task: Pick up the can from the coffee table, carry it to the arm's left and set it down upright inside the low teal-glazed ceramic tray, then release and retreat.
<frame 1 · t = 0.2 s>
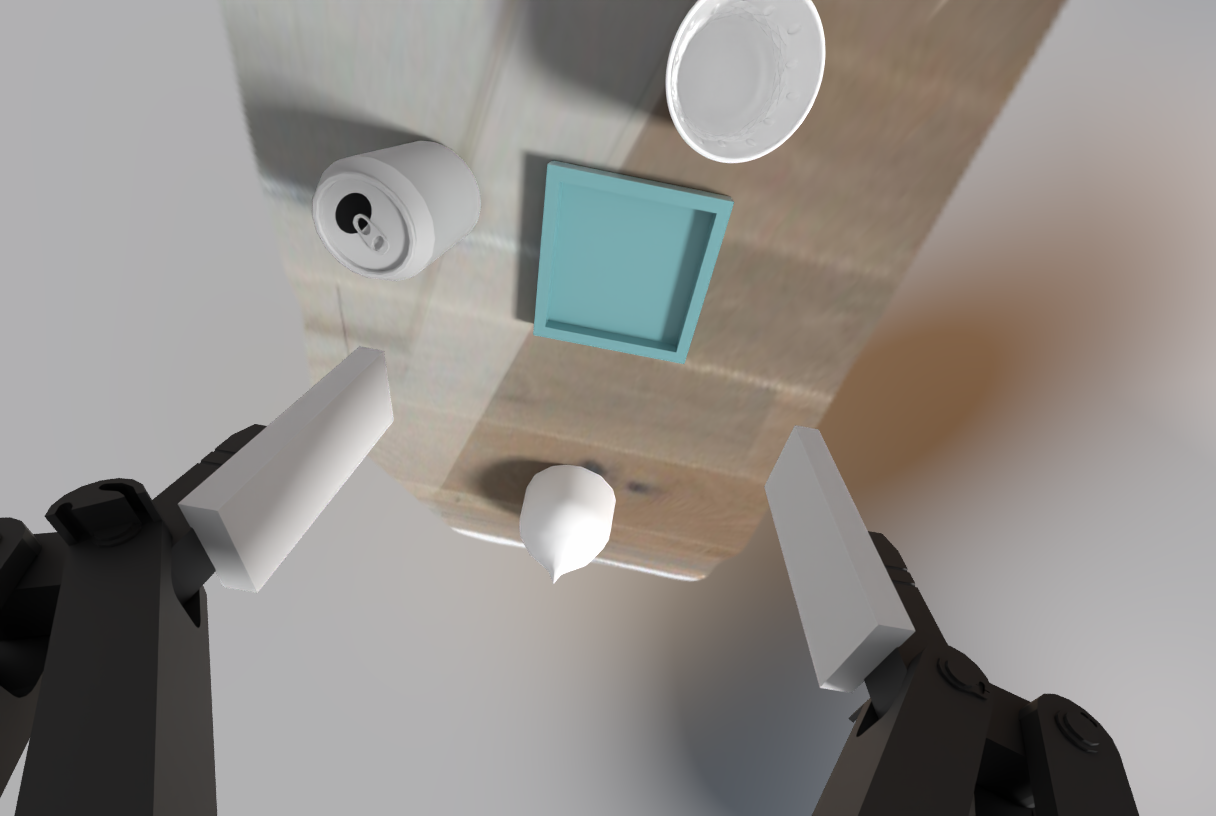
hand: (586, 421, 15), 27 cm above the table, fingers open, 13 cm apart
white cup: (720, 79, 32), on the table
teardrop: (571, 496, 57), on the table
can: (439, 192, 37), on the table
tray: (624, 267, 39), on the table
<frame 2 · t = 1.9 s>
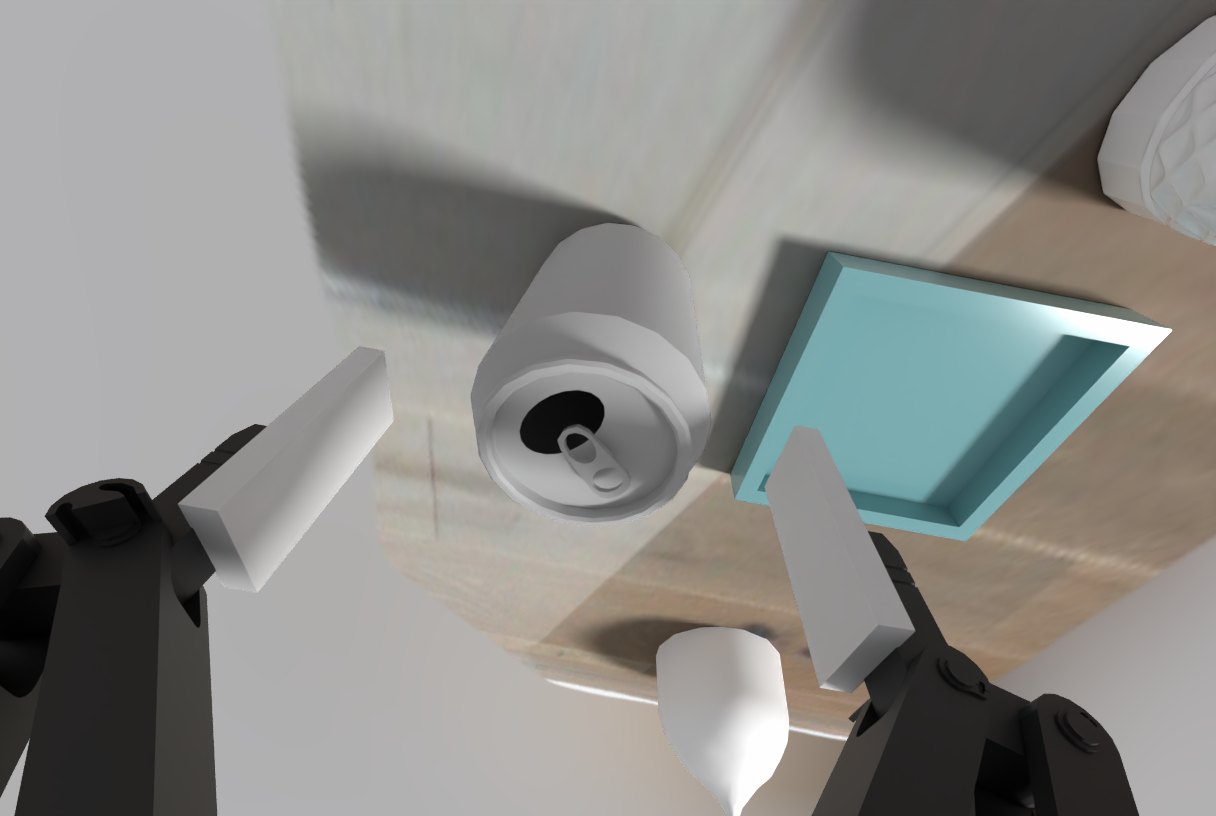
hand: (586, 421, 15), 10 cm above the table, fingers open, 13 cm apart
white cup: (1203, 114, 17), on the table
teardrop: (716, 656, 42), on the table
can: (615, 296, 23), on the table
tray: (898, 405, 25), on the table
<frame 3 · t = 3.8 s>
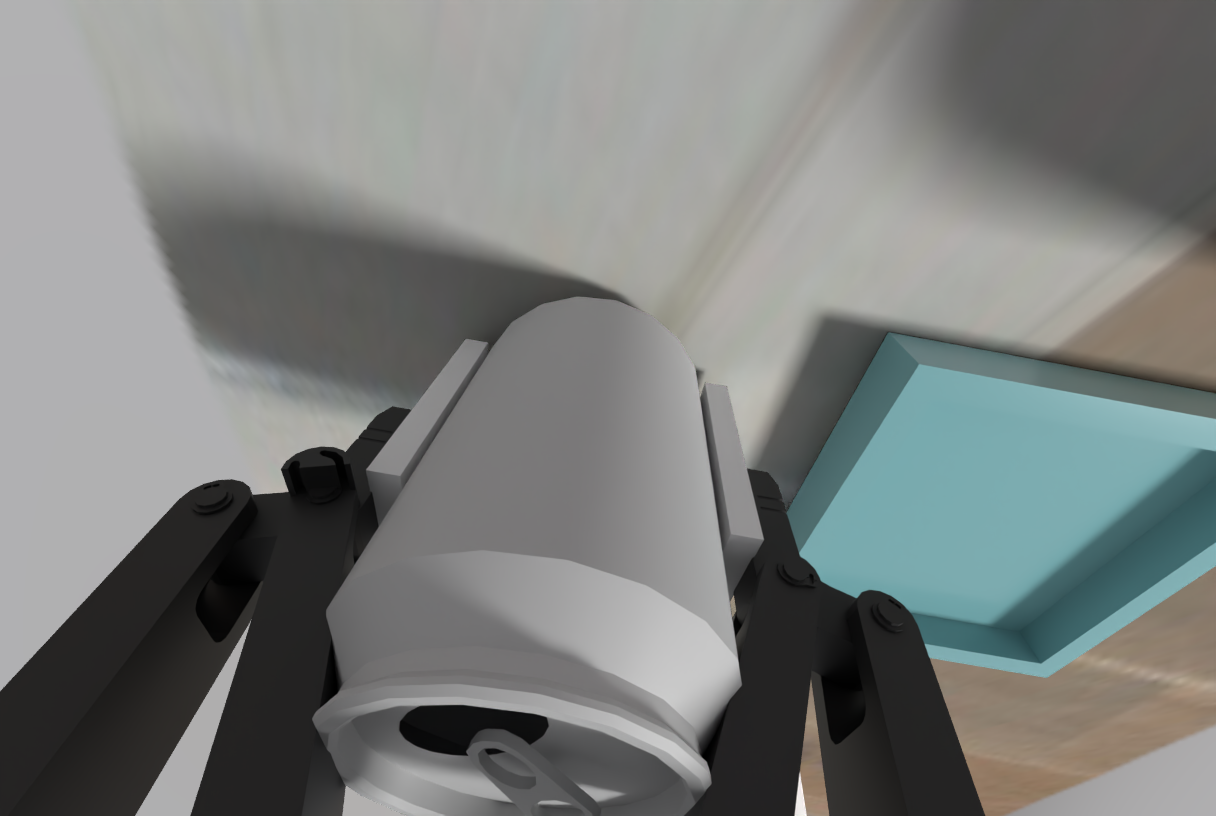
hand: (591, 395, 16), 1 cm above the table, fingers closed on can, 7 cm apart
can: (594, 382, 17), on the table, touching gripper
tray: (967, 516, 19), on the table
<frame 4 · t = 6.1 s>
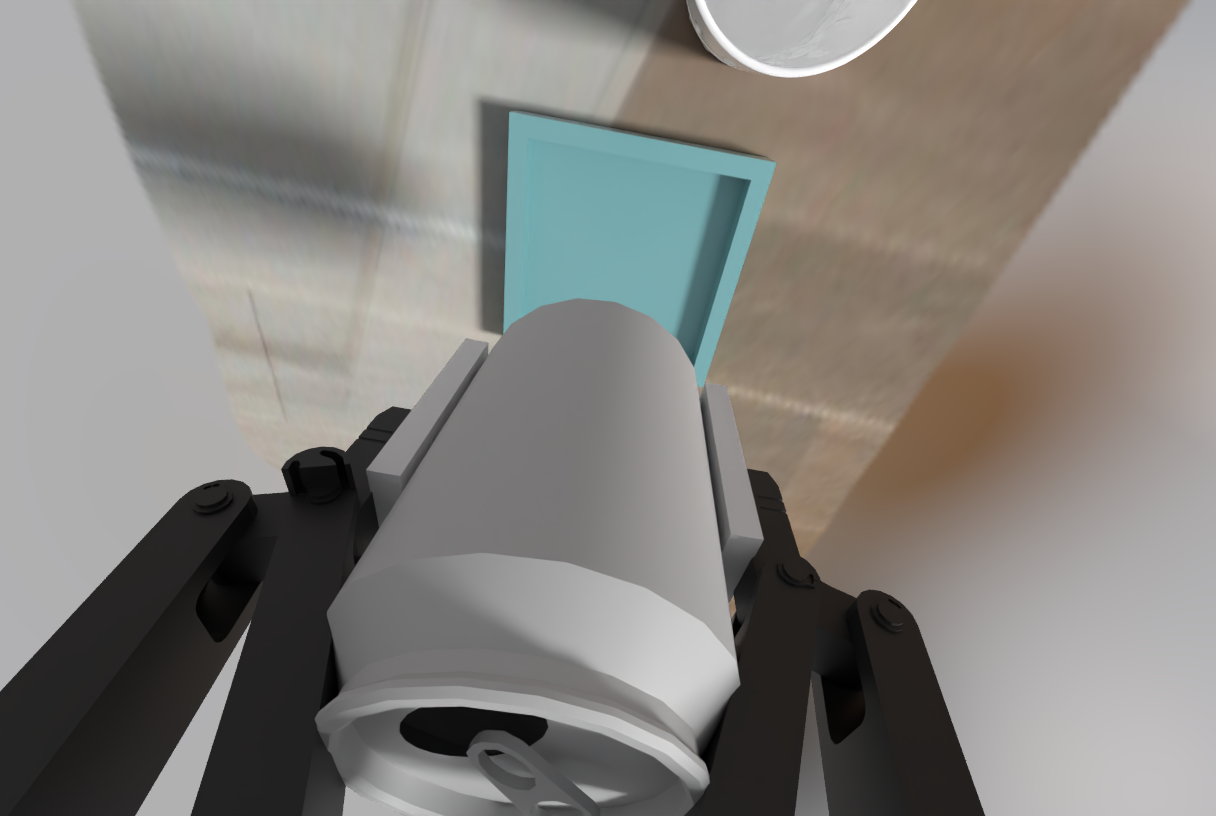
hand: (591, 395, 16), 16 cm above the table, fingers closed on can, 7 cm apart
can: (594, 384, 17), point 15 cm above the table, touching gripper
tray: (622, 259, 29), on the table
when the fingers open (3 cm above the table, at t = 8.9 s): can drops 1 cm, resting on tray.
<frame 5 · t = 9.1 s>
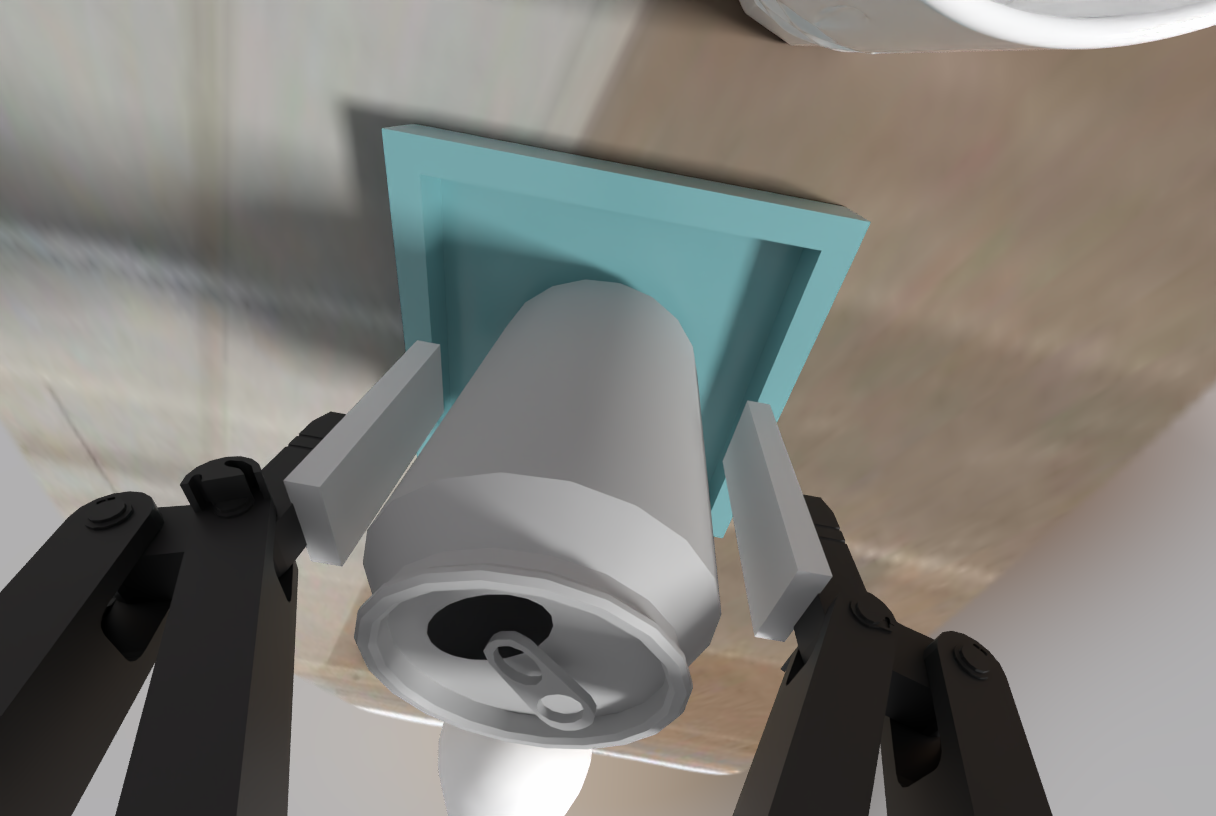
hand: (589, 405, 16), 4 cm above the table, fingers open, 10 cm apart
teardrop: (530, 679, 36), on the table
can: (599, 362, 18), resting on tray
tray: (599, 356, 19), on the table
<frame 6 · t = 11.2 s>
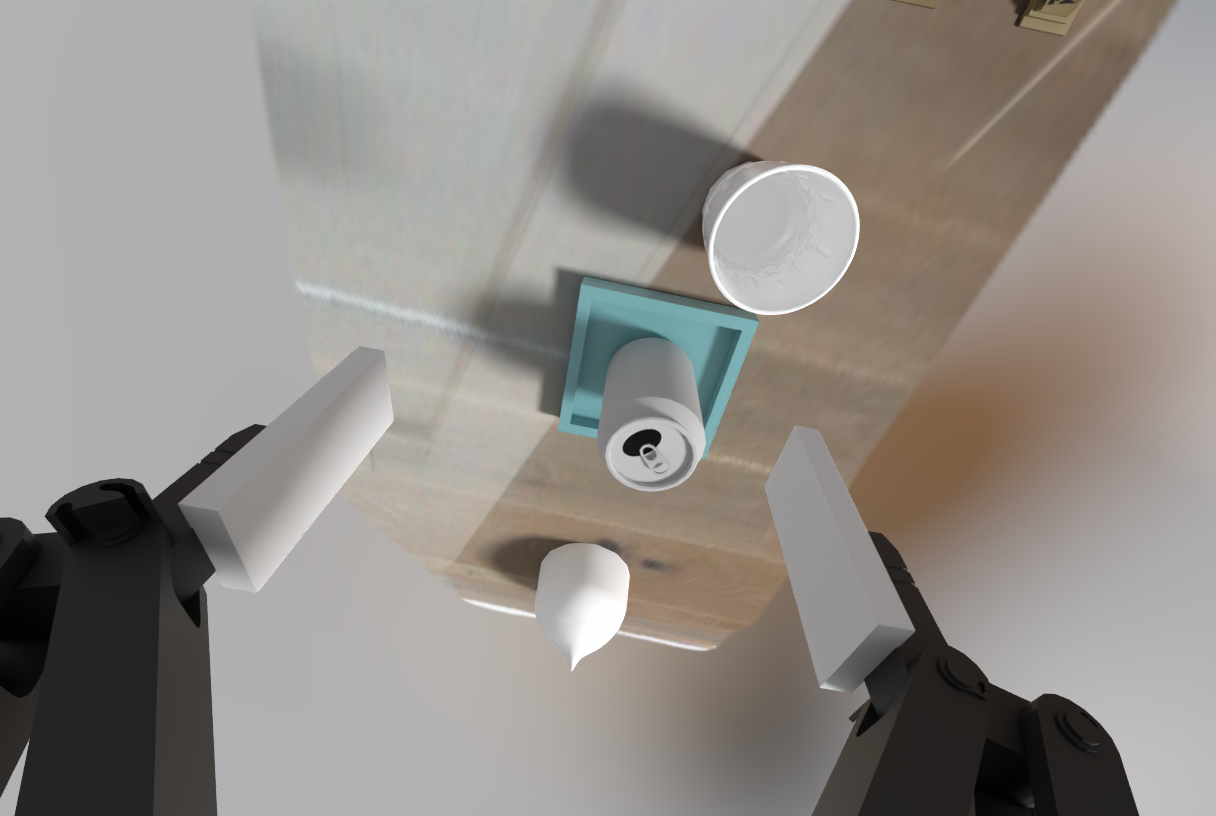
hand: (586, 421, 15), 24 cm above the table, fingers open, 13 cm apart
white cup: (747, 212, 34), on the table
teardrop: (585, 571, 57), on the table
can: (650, 371, 40), resting on tray
tray: (649, 369, 41), on the table
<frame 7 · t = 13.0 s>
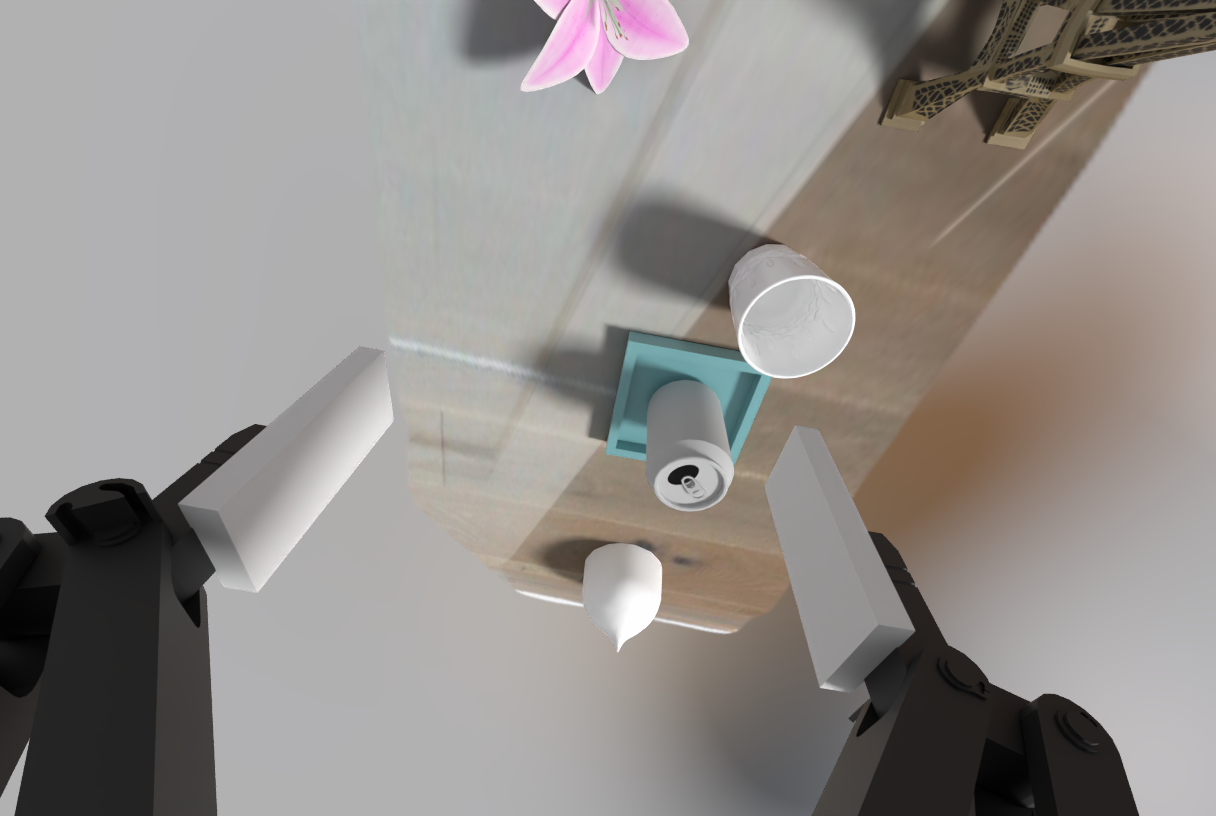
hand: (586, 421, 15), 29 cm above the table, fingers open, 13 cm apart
white cup: (766, 281, 41), on the table
teardrop: (623, 566, 65), on the table
lily: (612, 19, 31), on the table
eiffel tower: (993, 46, 31), on the table
can: (683, 405, 48), resting on tray
tray: (682, 402, 48), on the table
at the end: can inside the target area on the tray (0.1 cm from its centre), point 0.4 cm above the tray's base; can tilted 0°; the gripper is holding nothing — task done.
